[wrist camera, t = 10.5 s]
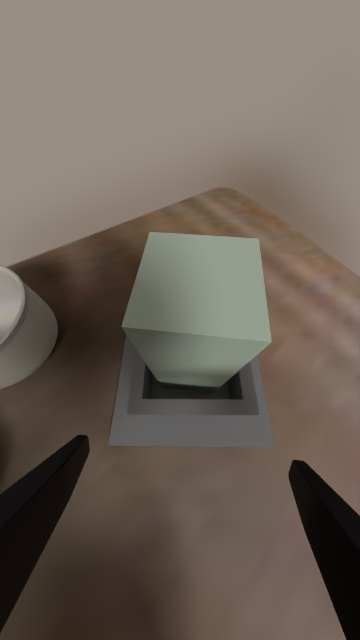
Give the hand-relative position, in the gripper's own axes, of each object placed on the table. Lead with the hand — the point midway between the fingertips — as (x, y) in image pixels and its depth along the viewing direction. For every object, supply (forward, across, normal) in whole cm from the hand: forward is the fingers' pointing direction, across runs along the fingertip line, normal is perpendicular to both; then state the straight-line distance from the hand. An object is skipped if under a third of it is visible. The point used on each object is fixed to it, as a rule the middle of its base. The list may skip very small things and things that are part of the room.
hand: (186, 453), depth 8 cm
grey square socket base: (+11, 0, +2) cm, 12 cm away
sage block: (+11, 0, +2) cm, 11 cm away
